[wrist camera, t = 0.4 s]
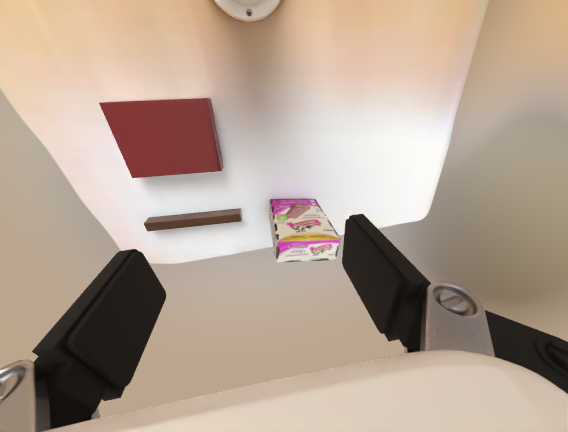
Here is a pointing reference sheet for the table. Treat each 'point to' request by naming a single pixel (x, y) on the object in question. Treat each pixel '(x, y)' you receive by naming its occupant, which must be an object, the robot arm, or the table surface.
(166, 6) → the table surface
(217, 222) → the rail
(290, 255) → the candy bar box
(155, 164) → the book
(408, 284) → the robot arm
